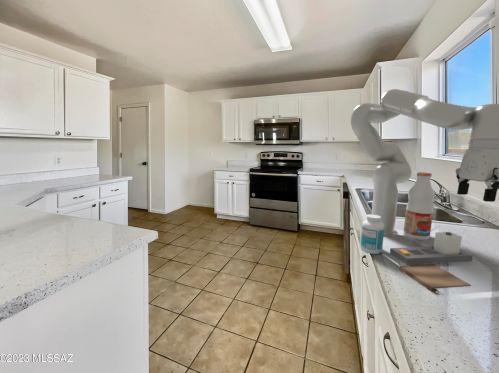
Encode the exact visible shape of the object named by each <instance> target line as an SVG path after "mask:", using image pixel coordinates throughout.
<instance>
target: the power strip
mask: <svg viewBox="0 0 499 373" xmlns="http://www.w3.org/2000/svg"><path fill="white" fill-rule="evenodd" d="M433 248H434V245H431V246H411V247H410V246H409V247H390V249H389V255H391V256H392V257H394V258H396V259H397V260H398V261H400V262H402V263H403V264H405V265H422V264H439V263H456V262H472V261H473V256H474V255H473V254H471V253H469V252H466V251H465V250H462V249H460V252H459V254H457V255H443V254H441V253H439V252H437V251H435V250H433Z"/></svg>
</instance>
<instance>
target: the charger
mask: <svg viewBox="0 0 499 373" xmlns="http://www.w3.org/2000/svg"><path fill="white" fill-rule="evenodd" d="M462 238H463V236H462V235H460V234H457V233H454V232H451V231H441V232H438V231H437V232H435V235H434V242H433V246H434V248H433V250H435V251H437V252H439V253H441V254H443V255H457V254H459V252H460V250H461V245H462Z"/></svg>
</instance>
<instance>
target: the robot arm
mask: <svg viewBox="0 0 499 373" xmlns="http://www.w3.org/2000/svg"><path fill="white" fill-rule="evenodd" d="M399 115H402V116H406V117H408V118H411V119H414V120H417V121H420V122H423V123H425V124H429V125H431V126H436V127H439V128H442V129H448V130H457V131H458V130H459V131H465V130H470V131H471V132H470V137H469V142H468V148H466V149H465V151H464V153H463V156H462V160H461V162H460V166H459V167H458V168H456V169H455V174H456V178H457V183H458V186H457V191H456V192H457V193H456V194H457V195H459V196H462V195H464V196H465V195H468V194H469V188H470V181H475V182H484V184H485V185H486V187H487V188H484V192H483V198H482V201H484V202H486V203H487V202H488V203H490V202H492V203H493V202H496V199H497V192H498V190H499V103H490V104H489V103H488V104H487V103H486V104H481V105H479V106H477V107H476V106H475V107H473V106H465V105H458V104H453V103H447V102H444V101H440V100H436V99H432V98H429V96H427V95H425V94H420V93H416V92H415V93H414V92H412V91H411V92H410V91H408V90H402V89H397V88H395V89H394V88H393V89H389V90H387V91H385V92H383V94H382V95H381V97H380V104H378V103H370V102H369V103H361V104H359V105H357V106H356V107H355V108H354V109H353V110H352V113H351V115H350V125H351V129H352V132H353V133H354V135H355V136H356V138H357V140H358V142H359V144H360V146H361V148H362V150H363V152H364V154H365V156H366V158H367V160H368V161H369V162H371V163H374V164H378V165H377V166H376V167H375V168H374V170H373V172H372V181H373V183H372V184H373V193H372V194H373V195H372V205H371V214H370V215H378V216H381V221H380V222H381V223H383V224H384V237H393V236H398V235H399V232H398V231H397V230H396V229H395V225H396V218H397V207H398V198H399V190H398V186H397V184H403V183H406V182H408V181H409V180H410V179H411V176H412V173H413V172H412V168H411V166H410V164H409V162H408V161H407V158H406V156H405V154H404V152H403V151H402V150H401V148H400V147H399V146H398V145H397V143H395V142H391V141H385V140H383V138H382V137H381V135H380V133H379V132H378V130H377V129H376V128H375V127H374V125H372V124H383V123H386V122H387V121H390V120H391V119H394V118H396V117H398V116H399Z"/></svg>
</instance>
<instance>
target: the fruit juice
mask: <svg viewBox="0 0 499 373" xmlns="http://www.w3.org/2000/svg"><path fill="white" fill-rule="evenodd" d="M416 177H417V178H416V180H415V183H414V185H413V186H412V187H411V188H410V189H409V191H408V194H407V195H408V202H407V204H406V209H405V216H404V224H403V232H402V233H403V236H406V237H407V238H409V239H414V240H419V241H420V240H421V241H426V240H427V241H428V240H430V237H431V231H432V230H431V229H432V223H433V216H434V208H435V207H434V200H435V198H436V193H435V192H436V191H435V190H434V189H433V186H432V184H431V178H432V172H431V173H430V172H424V171H422V172H420V171H419V172H417V173H416Z"/></svg>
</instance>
